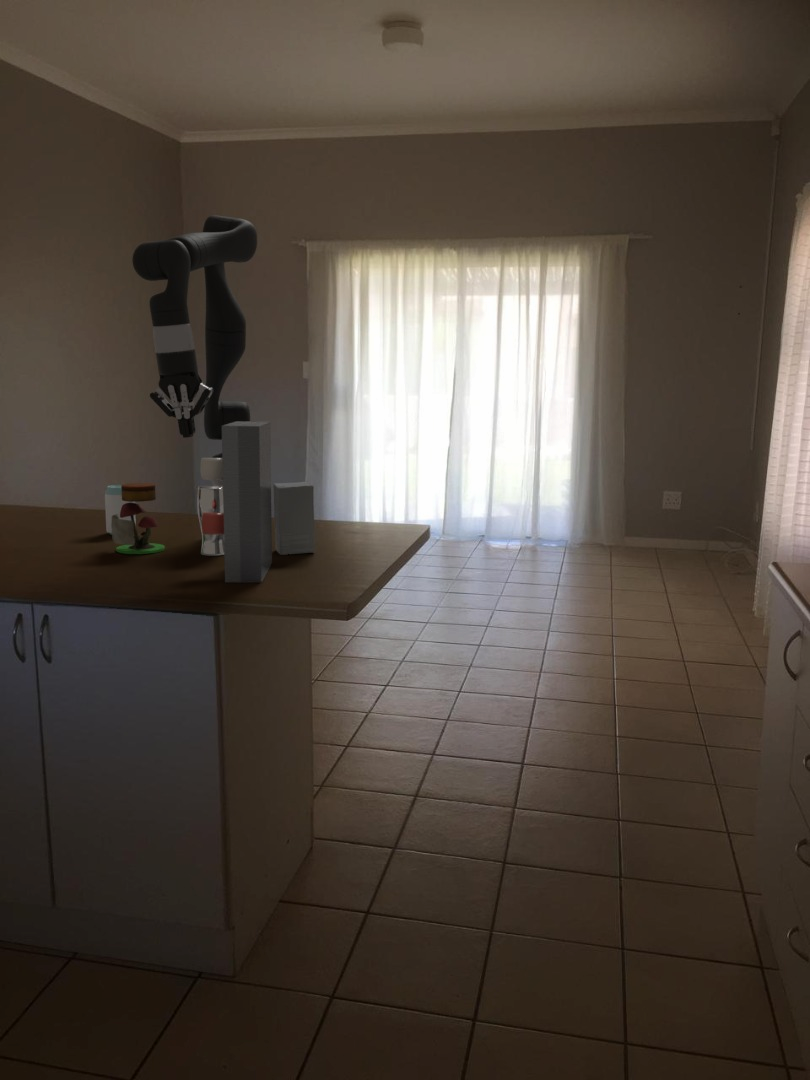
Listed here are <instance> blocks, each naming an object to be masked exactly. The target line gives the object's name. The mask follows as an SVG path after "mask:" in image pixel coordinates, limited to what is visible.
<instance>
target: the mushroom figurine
mask: <svg viewBox="0 0 810 1080" xmlns="http://www.w3.org/2000/svg"><path fill="white" fill-rule="evenodd" d="M121 485H122V486H121V490H122V500H123V501H128V502H135V503H125V504H123V505H122V508H121V512H120V517H121V518H123V517H128V516H131V521H130V520H122V519H119V516H118V514H116V515H113V516H111V517H112V523H111V527H112V535H111V537H112V538H111V539H112V542H113V543H114V544H116V545H120V546H116V549H115V550H116V552H117V553H120V554H125V555H148V554H155V553H160V552H163V551H165V549H166V546H165V545H164V544H161V543H152V542H151V543H150V542H149V541H148V540H149V538H150V536H151V534H152V530H151V529H152V528H156V527H158V526H159V524H158V522H157V520H156V519H155V518H154V517H153V516H151V515H150V516H149V515H146V516H145V515H144V516H143V517H142V518H141V519H140V521H139V522H138V525H135V521H134V517H133V515H135V516H136V515H139V514H142V513H146V512H147V510H145V509H144V508H143V507H141V505H140V504H138V503H137V502H151V501H155V500H156V498H157V497H156V496H157V495H156V484H155V483H151V482H132V483H131V482H130V483H129V482H128V483H123V484H121ZM137 526H138V527H140V528H142V529H145V530H144V531H142V532H141V533H140V536H141V537H140V536H139V532H138V529H137Z"/></svg>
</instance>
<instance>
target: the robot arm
mask: <svg viewBox="0 0 810 1080" xmlns="http://www.w3.org/2000/svg"><path fill="white" fill-rule="evenodd" d="M257 246H258V234H257V230H256V227H255V226H254V224H253V223H252V222H250V221H249V220H246V219H244V218H237V217H230V216H224V215H223V216H222V215H215V214H214V215H209V216H208V217H207V218H206V219H205V221H204V224H203V226H202V232H200V231H198V232H189V233H185V234H184V233H183V234H180V235H177V236H175V237H171V238H167V239H161V240H160V239H159V240H154V241H153V240H152V241H146V242H142V243H140V244H139V245H137V247H136V248H135V249H134V251H133V253H132V260H131V261H132V262H131V263H132V265H133V266H132V267H133V269H134V271H135V273H136V274H137V275H138V276H139V277H141V279H144V280H146V281H149V282H154V281H155V282H157V281H165V280H166V281H167V284H166V287H165V290H163V291H162V292H160V293H157V294H153V295H152V296H151V297H150V298H149V310H150V317H151V322H152V329H153V330H152V332H153V333H152V337H153V344H154V345H153V348H154V352H155V357H156V365H157V371H158V375H159V380H158V387H157V388H156V389H155V390H154V391H152V392H151V393H149V398H150V399H151V400H152V401H153V402H154V403H155V404H156V405H157V406H158V407H159V409H161V411H162V412H164V413H165V414H166V415H167V417H169V418H170V417H173V418H175V419H176V420H177V424H178V430H179V434H180V436H182V438H184V439H185V438H192V437H194V435H195V434H196V422H195V416H198V415H199V414H201V413H202V412H204V413H203V415H204V416H203V428H204V433H205V434H204V435H205V436H206V438H207V439H208V440H212V441H213V440H216V441H217V440H218V441H220V440H221V441H222V426H223V425H226V424H229V423H233V422H236V421H243V422H251V410H250V406H249V404H248V403H247V402H245V401H238V400H237V401H235V400H234V401H231V400H230V401H228V400H227V401H226V400H222V401H220V396H221V392H222V391H223V388H224V386H225V383H226V382H227V380H228V377H229V376H230V374H231V373H232V372H233V370H234V369H235V368H236V366H237V365H238V363H239V362H240V360H241V358H242V357H243V356H244V353H245V351H246V342H247V339H246V338H247V321H246V318H245V315H244V312H243V309H242V308H241V306H240V304H239V303H238V300H237V299H236V297H235V295H234V293H233V292H232V289H231V287H230V285H229V283H228V282H229V281H228V279H227V276H226V267H225V263H239V264H241V263H247V262H248V261H250V260H251V259H253V257H254V256H255V254H256V251H257V248H258V247H257ZM199 269H203V271H204V282H205V283H204V284H205V321H204V323H205V325H204V326H205V327H204V335H205V336H204V338H205V339H204V340H205V341H204V342H205V345H204V346H205V383H203V380H202V378H201V377H200V375H199V369H198V361H197V355H196V353H197V352H196V347H195V342H194V334H193V331H192V326H191V324H190V315H189V308H188V293H189V291H188V290H189V282H190V275H191V272H193V271H197V270H199ZM197 394H198V395H199V399H198V400H197V402H196V403H195V397H196V396H197ZM166 397H167V398H168V399H169V400H170V401H171V403H170V401H168V400H167V398H166ZM211 458H222V452H220V453H217V454H215V455H213V456H212V457H211ZM211 485H220V486H223V480H211Z"/></svg>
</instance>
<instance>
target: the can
mask: <svg viewBox="0 0 810 1080" xmlns="http://www.w3.org/2000/svg"><path fill="white" fill-rule="evenodd" d="M122 485H123V484H113V485H107V486H106V488H107V489H106V490H105V492H104V505H105V507H104V508H105V526H106V527H105V528H106V533H107V534H109V535H110V536H112V527H111V523H112V517H111V516H113V515H116V514H118V516H119V519H122V520H130V521H131V516H128V517H123V518H121V517H120V512H121V508H122V505H123V504H125V503H136V502H128V501H123V500H122V490H121V486H122ZM133 517H134V521H135V525H136V524H137V523H136V521H137V520H136V515H133ZM136 526H137V525H136Z"/></svg>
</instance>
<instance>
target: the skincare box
mask: <svg viewBox="0 0 810 1080" xmlns="http://www.w3.org/2000/svg"><path fill="white" fill-rule="evenodd" d="M314 487H315V486H314V485H312V484H311V483H310V481H299V482H296V481H295V482H280V483H279V482H277V483H273V487H272V488H273V512H274V513H273V515H274V516H273V518H274V542H275V545H274V546H275V551H276V552H277V553H278V554H279V555H280V556H286V555H288V554H289V555H295V554H296V555H299V554H311V553H312V554H314V553H316V544H315V543H316V542H315V537H316V536H315V506H314V499H315V498H314V497H315V496H314Z"/></svg>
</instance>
